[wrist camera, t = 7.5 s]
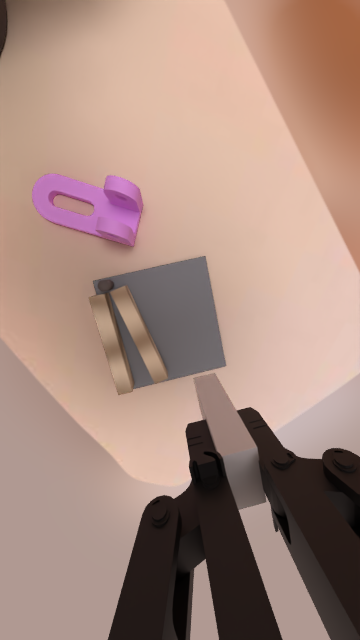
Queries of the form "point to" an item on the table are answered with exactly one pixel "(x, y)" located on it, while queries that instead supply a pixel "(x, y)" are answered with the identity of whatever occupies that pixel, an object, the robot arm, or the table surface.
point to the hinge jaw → (140, 333)
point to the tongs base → (112, 338)
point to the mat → (172, 318)
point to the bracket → (109, 205)
